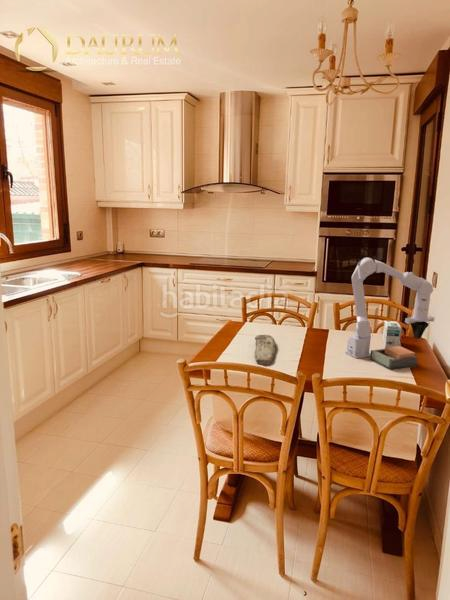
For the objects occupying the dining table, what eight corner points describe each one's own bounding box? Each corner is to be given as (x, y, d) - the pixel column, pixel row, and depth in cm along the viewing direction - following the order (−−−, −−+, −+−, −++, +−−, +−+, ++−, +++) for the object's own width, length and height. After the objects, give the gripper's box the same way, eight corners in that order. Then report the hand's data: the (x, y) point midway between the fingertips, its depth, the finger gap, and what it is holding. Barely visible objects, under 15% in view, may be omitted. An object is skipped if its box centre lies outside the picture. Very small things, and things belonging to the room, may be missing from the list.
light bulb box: (399, 348, 206) (402, 327, 204) (384, 347, 207) (387, 325, 205) (395, 341, 216) (398, 321, 214) (381, 340, 218) (383, 320, 215)
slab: (399, 359, 182) (400, 354, 181) (384, 352, 190) (385, 347, 189) (414, 358, 184) (414, 352, 184) (398, 351, 193) (399, 345, 192)
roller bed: (390, 370, 179) (391, 359, 177) (369, 359, 190) (370, 349, 189) (416, 366, 183) (417, 356, 182) (394, 356, 195) (396, 346, 194)
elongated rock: (250, 367, 181) (274, 370, 180) (251, 356, 179) (275, 359, 178) (255, 338, 214) (275, 340, 213) (256, 328, 213) (276, 330, 212)
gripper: (415, 311, 179) (411, 342, 182) (441, 309, 184) (437, 339, 187) (403, 307, 186) (399, 337, 189) (428, 305, 191) (424, 334, 194)
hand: (417, 337), depth 189 cm, fingers closed
